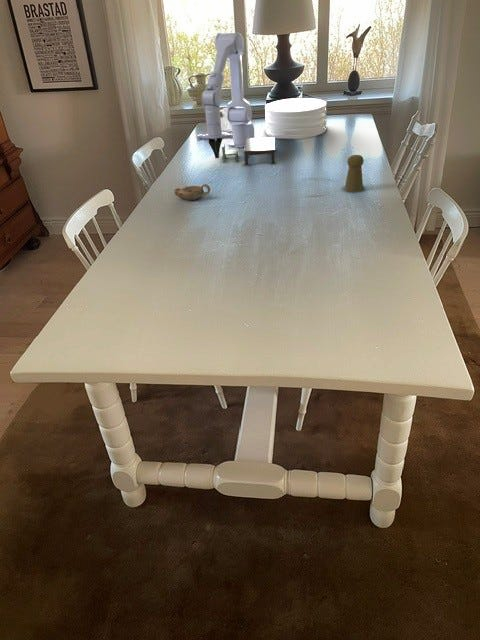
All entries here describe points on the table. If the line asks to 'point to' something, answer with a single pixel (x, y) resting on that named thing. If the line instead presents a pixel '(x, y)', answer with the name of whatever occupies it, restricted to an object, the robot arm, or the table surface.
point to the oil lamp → (191, 192)
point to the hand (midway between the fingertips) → (217, 157)
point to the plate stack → (296, 118)
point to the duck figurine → (225, 121)
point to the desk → (259, 148)
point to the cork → (354, 174)
